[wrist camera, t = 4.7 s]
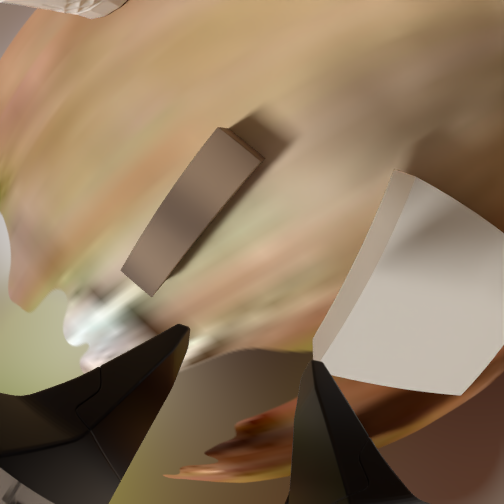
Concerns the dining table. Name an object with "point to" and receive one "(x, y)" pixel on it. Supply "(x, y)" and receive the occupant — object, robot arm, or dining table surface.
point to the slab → (418, 296)
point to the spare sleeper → (190, 207)
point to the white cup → (73, 6)
